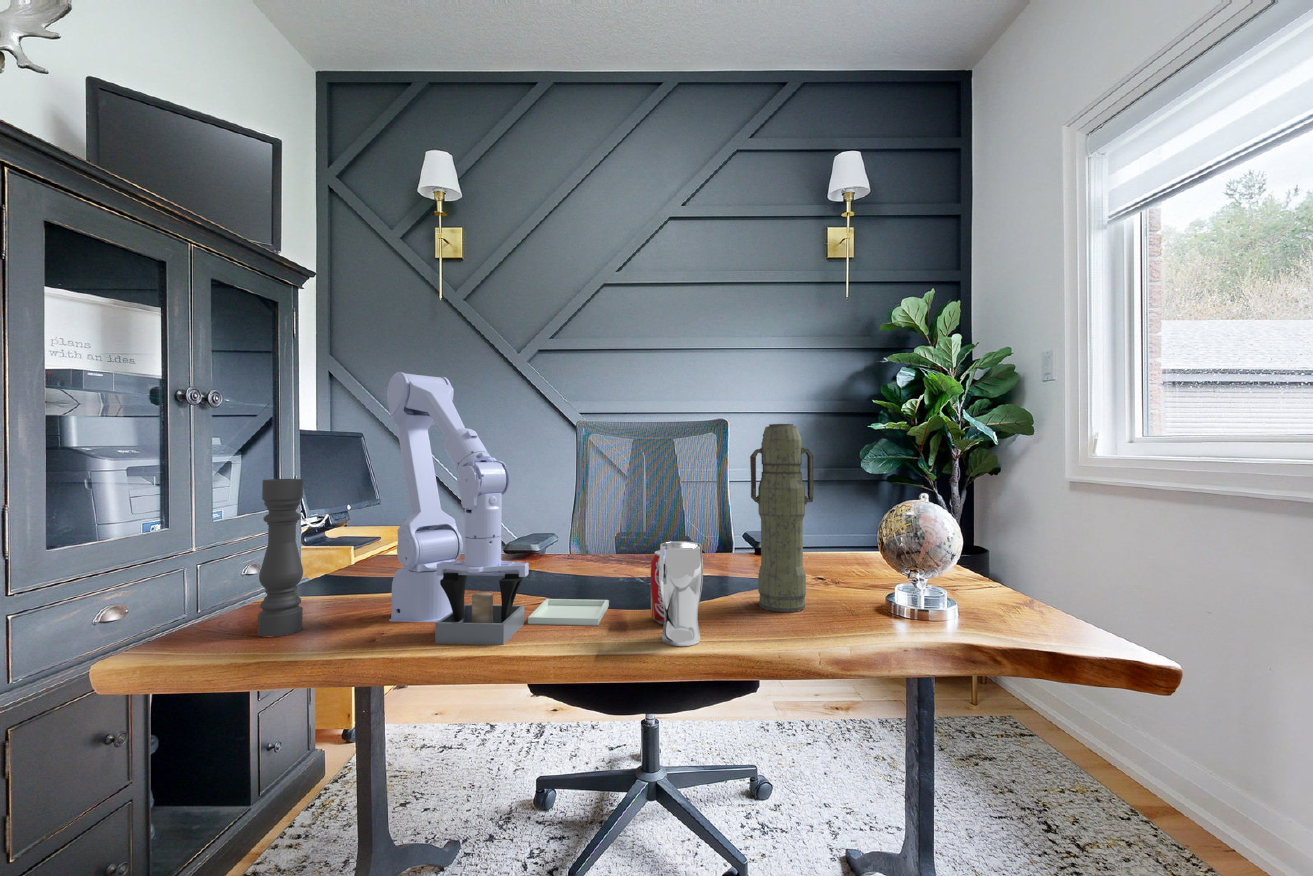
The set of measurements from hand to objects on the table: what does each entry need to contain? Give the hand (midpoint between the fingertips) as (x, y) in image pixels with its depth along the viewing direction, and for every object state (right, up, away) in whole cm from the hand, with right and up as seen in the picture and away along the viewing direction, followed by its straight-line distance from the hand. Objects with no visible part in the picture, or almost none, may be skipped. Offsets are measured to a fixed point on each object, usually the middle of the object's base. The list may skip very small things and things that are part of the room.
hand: (482, 620), depth 91 cm
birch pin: (0, -2, 0) cm, 2 cm away
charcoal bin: (0, -2, 0) cm, 2 cm away
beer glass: (+32, -3, -2) cm, 32 cm away
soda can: (+31, -3, +8) cm, 32 cm away
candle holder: (-34, -3, +2) cm, 34 cm away
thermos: (+52, -3, +18) cm, 55 cm away
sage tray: (+13, -3, +10) cm, 16 cm away
